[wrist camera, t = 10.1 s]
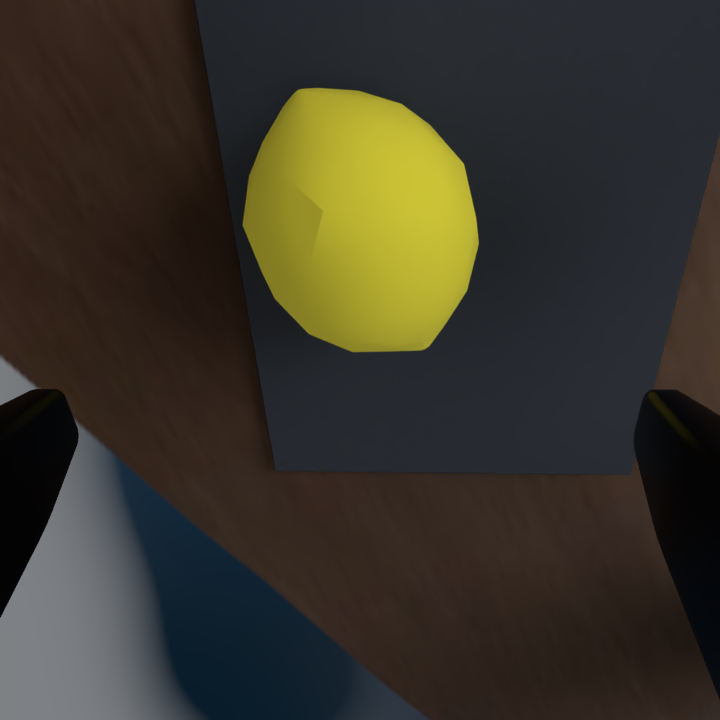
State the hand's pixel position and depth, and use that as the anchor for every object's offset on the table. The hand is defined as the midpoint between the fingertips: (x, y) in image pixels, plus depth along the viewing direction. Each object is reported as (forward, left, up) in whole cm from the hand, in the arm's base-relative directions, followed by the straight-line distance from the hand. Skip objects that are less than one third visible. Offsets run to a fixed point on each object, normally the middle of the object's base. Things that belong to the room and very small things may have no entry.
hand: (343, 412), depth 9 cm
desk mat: (-2, 0, -10) cm, 10 cm away
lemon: (0, 0, -9) cm, 9 cm away
